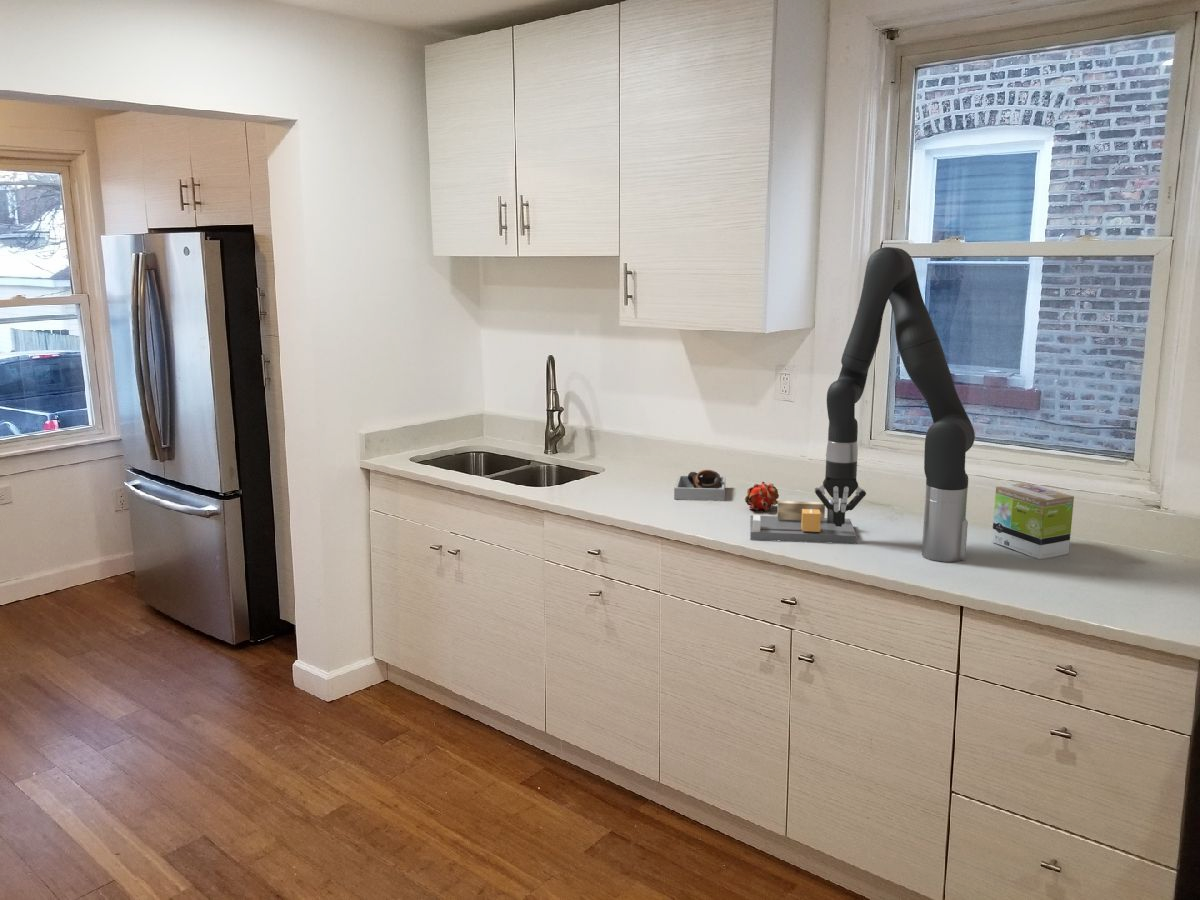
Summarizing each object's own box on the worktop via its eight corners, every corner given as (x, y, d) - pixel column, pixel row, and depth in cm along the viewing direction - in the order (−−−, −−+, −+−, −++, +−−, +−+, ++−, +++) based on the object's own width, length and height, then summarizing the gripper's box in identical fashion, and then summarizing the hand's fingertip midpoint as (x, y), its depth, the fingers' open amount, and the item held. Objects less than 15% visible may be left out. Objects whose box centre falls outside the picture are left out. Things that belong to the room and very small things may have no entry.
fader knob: (818, 526, 241) (819, 509, 240) (820, 531, 237) (820, 513, 236) (801, 526, 242) (801, 508, 241) (802, 531, 237) (802, 513, 237)
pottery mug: (728, 493, 290) (728, 473, 284) (712, 511, 284) (712, 492, 279) (694, 478, 295) (694, 459, 290) (678, 496, 290) (677, 477, 285)
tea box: (989, 543, 235) (994, 485, 232) (1020, 538, 239) (1024, 481, 236) (1039, 560, 221) (1044, 499, 218) (1070, 555, 225) (1076, 494, 222)
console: (849, 526, 251) (850, 496, 249) (856, 543, 235) (857, 512, 234) (750, 522, 255) (751, 493, 253) (750, 539, 239) (751, 509, 238)
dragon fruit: (779, 511, 271) (749, 524, 265) (761, 490, 276) (731, 502, 269) (791, 492, 265) (760, 505, 259) (772, 471, 270) (741, 483, 263)
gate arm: (823, 518, 249) (824, 502, 248) (824, 520, 247) (824, 504, 246) (777, 516, 251) (777, 500, 250) (777, 519, 249) (778, 503, 248)
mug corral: (725, 487, 294) (725, 476, 293) (723, 500, 278) (724, 489, 277) (678, 486, 296) (678, 475, 295) (674, 499, 280) (674, 488, 279)
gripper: (815, 460, 232) (812, 528, 235) (871, 462, 230) (867, 530, 233) (813, 454, 239) (810, 520, 243) (867, 456, 237) (863, 522, 241)
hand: (838, 525), depth 238 cm, fingers closed
